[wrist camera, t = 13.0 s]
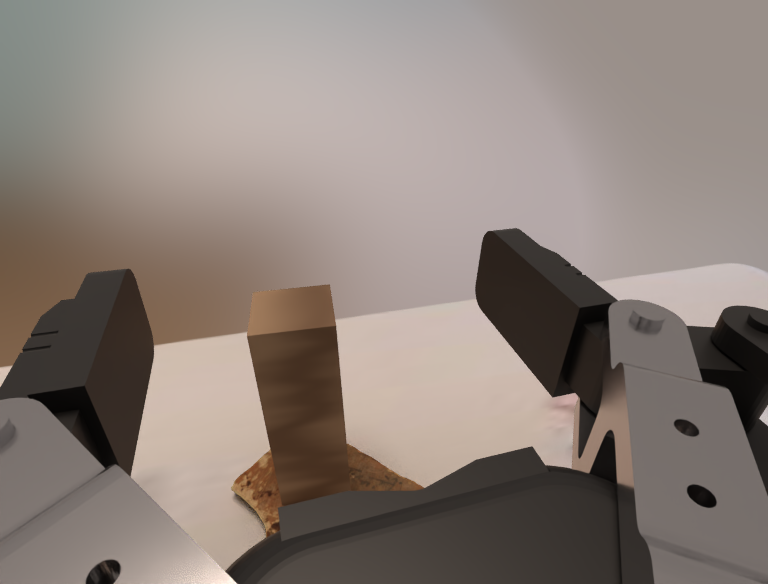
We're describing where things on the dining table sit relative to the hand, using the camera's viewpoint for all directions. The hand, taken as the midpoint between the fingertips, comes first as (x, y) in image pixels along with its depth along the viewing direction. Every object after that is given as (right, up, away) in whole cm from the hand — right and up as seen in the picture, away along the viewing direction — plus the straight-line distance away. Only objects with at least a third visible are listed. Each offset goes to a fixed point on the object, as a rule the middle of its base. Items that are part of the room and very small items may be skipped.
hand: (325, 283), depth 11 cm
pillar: (-3, -11, +18) cm, 21 cm away
